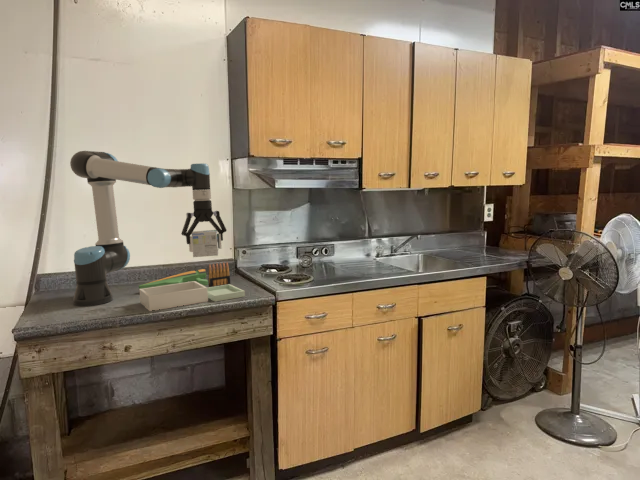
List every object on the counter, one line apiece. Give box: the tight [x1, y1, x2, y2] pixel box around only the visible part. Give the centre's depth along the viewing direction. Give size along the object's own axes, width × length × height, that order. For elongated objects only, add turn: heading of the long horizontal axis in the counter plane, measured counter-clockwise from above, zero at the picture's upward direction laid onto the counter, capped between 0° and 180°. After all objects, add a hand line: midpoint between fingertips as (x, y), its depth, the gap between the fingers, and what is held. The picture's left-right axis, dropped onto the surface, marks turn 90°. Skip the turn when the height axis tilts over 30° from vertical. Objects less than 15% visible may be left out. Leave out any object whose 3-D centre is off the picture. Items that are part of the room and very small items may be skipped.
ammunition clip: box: [207, 261, 232, 287], centre depth 216 cm, size 11×2×12 cm, turn 126°
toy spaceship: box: [138, 268, 209, 290], centre depth 216 cm, size 32×10×7 cm, turn 127°
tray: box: [206, 284, 246, 302], centre depth 201 cm, size 14×17×2 cm
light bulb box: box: [191, 229, 219, 258], centre depth 194 cm, size 11×7×11 cm, turn 103°
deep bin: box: [138, 281, 209, 312], centre depth 190 cm, size 24×16×6 cm, turn 124°
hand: (205, 250), depth 194 cm, fingers closed on light bulb box, 12 cm apart
